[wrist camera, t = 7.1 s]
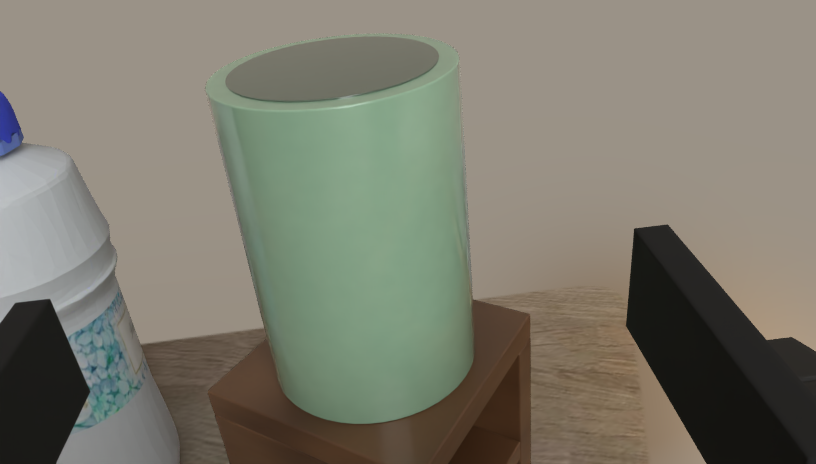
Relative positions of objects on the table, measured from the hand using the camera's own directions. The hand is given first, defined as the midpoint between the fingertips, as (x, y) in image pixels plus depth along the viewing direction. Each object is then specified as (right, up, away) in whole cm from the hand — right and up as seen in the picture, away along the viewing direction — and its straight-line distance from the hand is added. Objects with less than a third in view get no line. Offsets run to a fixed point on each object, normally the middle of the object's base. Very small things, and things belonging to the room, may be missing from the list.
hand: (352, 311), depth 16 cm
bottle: (-12, -11, +17) cm, 24 cm away
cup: (0, -3, +10) cm, 11 cm away
